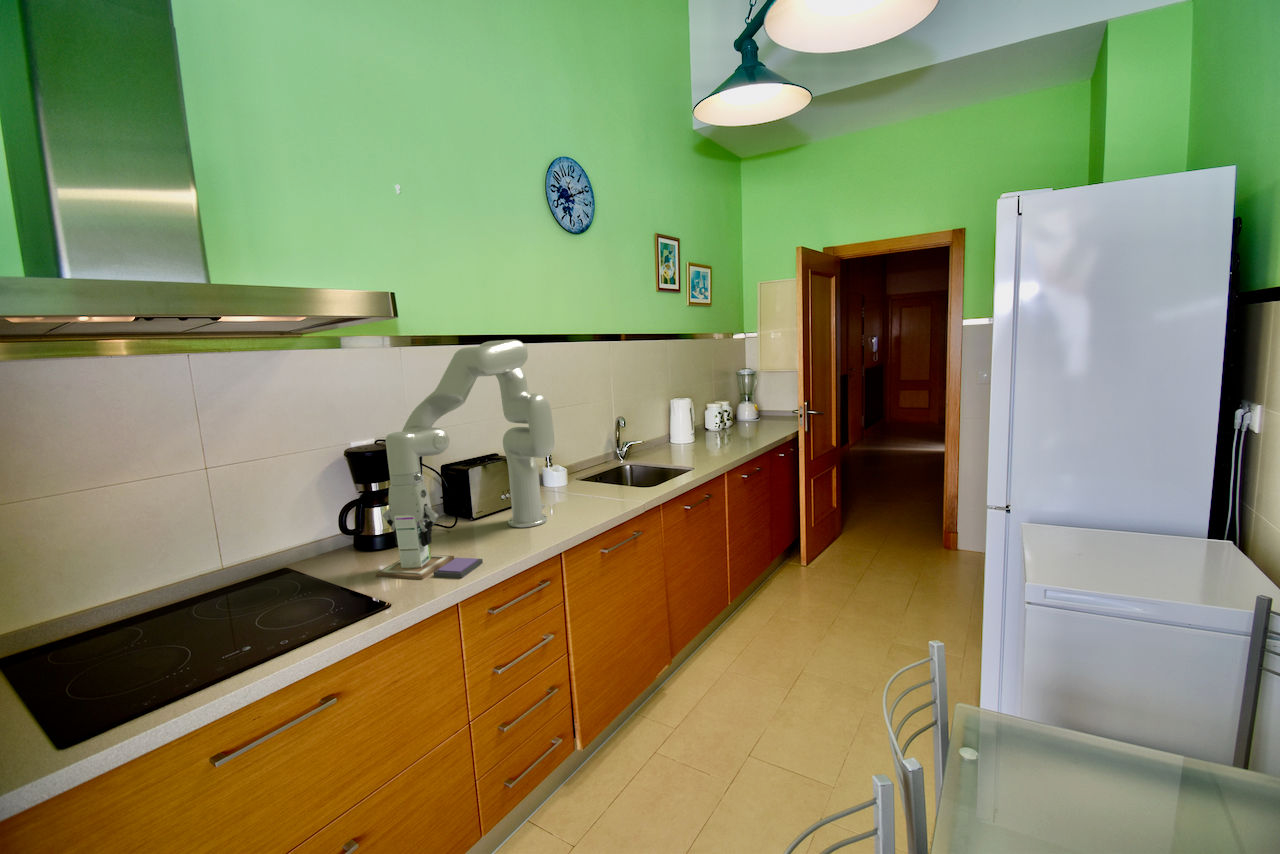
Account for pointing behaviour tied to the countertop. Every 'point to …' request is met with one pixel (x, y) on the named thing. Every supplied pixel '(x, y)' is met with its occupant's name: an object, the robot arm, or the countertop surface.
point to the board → (415, 573)
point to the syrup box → (410, 542)
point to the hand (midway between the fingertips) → (413, 543)
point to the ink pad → (458, 567)
